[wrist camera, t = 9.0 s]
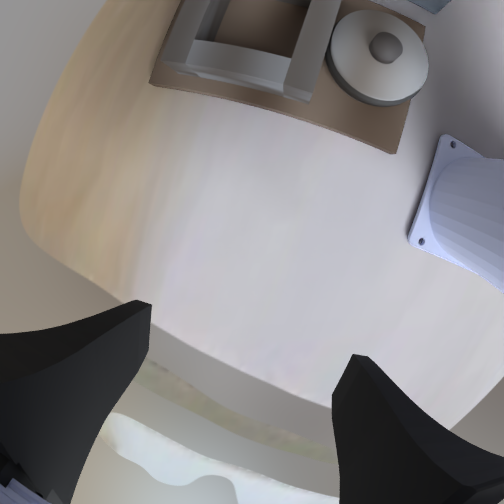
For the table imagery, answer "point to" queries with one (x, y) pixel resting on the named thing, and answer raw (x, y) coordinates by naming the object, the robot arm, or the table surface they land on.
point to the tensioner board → (301, 61)
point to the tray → (431, 4)
